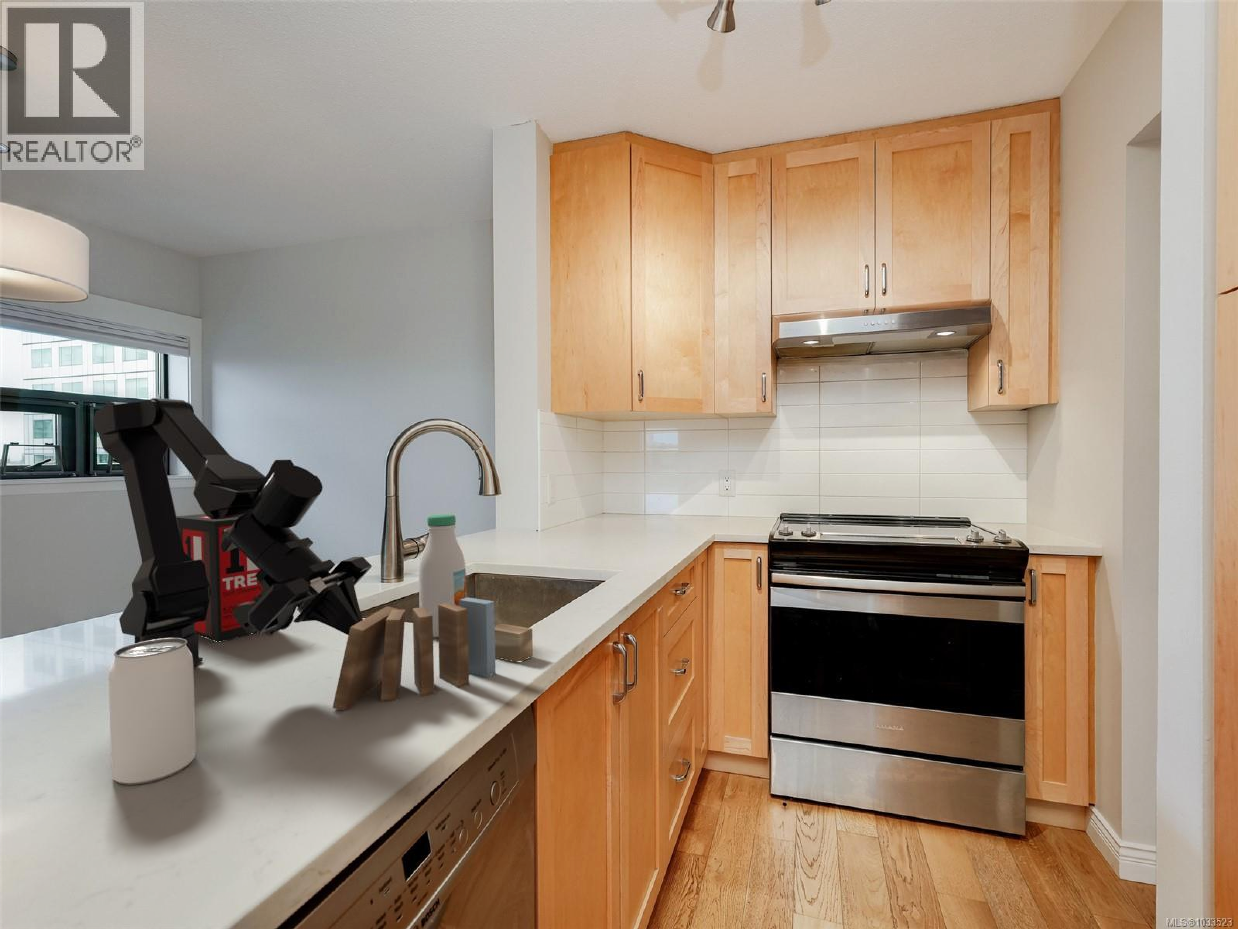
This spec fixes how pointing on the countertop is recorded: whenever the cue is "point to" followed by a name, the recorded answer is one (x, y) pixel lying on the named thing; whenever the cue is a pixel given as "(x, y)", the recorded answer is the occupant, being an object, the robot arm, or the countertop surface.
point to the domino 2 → (393, 655)
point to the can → (151, 710)
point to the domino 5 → (480, 635)
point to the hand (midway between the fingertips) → (363, 636)
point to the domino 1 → (362, 659)
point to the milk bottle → (441, 568)
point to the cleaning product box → (219, 574)
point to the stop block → (513, 642)
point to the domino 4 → (453, 644)
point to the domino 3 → (423, 651)
